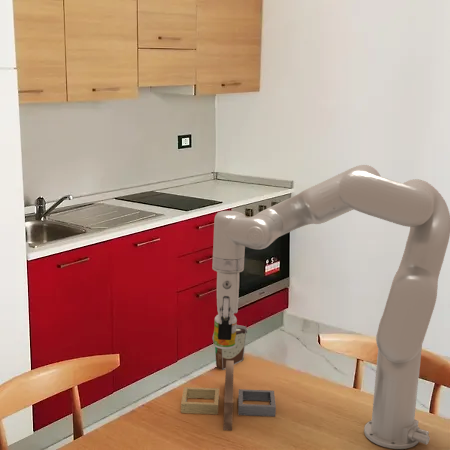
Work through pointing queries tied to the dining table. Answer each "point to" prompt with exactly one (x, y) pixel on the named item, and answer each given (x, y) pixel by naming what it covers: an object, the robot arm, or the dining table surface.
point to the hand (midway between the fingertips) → (224, 333)
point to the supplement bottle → (231, 343)
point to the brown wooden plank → (228, 395)
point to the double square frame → (243, 395)
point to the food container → (232, 349)
